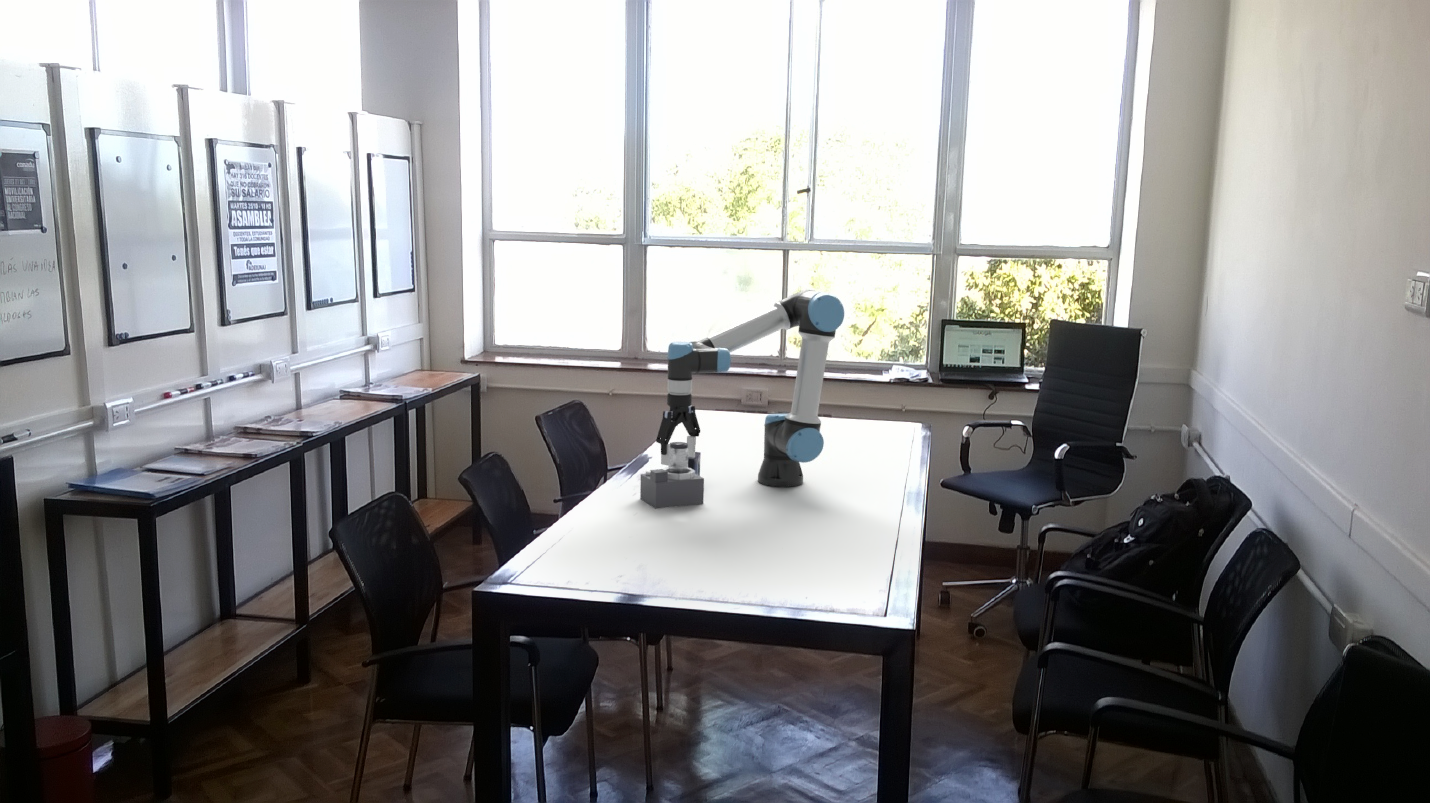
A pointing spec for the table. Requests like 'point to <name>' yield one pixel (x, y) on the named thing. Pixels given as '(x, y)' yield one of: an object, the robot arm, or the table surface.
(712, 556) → the table surface
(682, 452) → the lens
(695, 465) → the small box
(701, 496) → the camera body
